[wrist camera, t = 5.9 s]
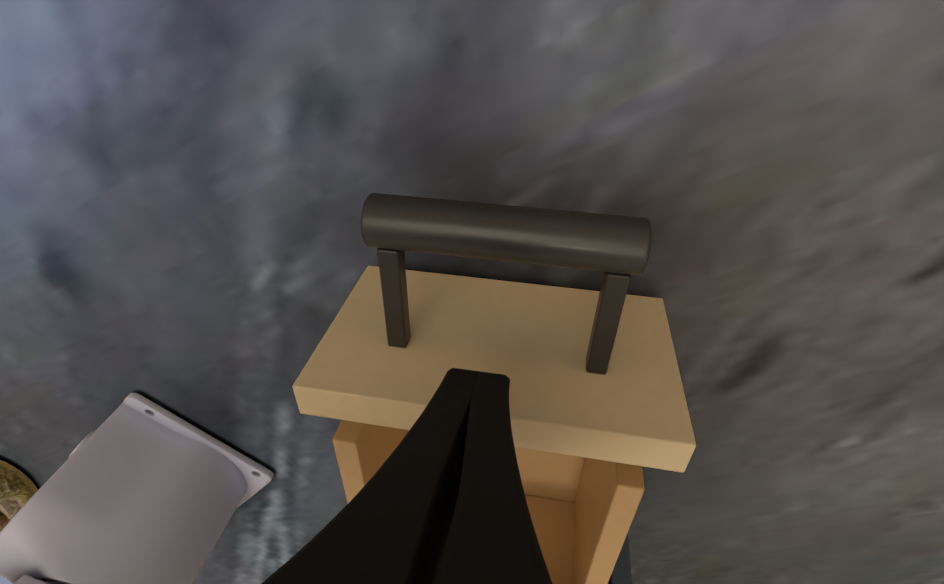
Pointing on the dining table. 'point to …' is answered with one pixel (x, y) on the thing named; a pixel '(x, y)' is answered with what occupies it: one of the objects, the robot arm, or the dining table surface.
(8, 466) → the ceramic model
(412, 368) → the drawer
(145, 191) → the dining table surface
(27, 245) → the dining table surface
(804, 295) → the dining table surface
